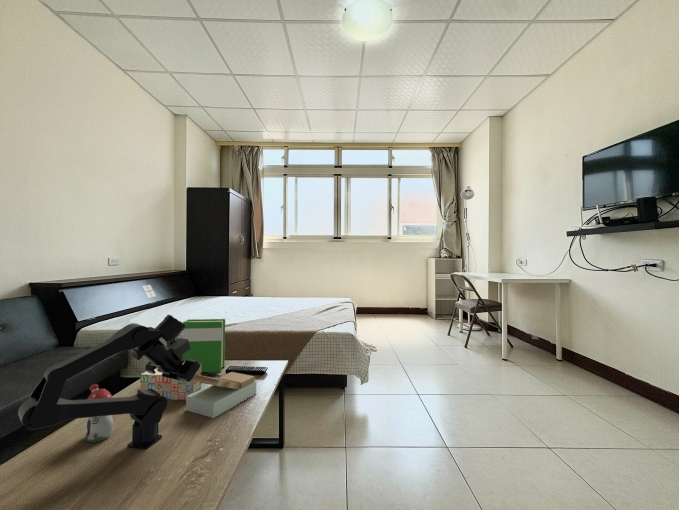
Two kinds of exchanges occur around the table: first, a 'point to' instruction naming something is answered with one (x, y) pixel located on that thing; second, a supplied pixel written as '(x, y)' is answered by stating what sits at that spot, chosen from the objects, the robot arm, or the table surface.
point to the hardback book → (206, 343)
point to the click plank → (216, 382)
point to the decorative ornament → (99, 419)
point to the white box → (221, 395)
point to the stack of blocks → (169, 385)
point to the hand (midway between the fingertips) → (187, 379)
